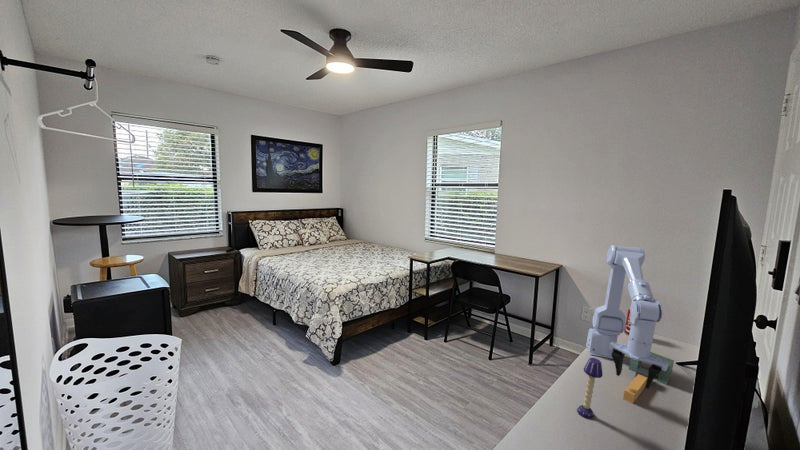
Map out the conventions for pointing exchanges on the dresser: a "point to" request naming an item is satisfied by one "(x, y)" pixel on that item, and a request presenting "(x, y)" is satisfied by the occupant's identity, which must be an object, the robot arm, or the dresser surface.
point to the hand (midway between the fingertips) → (632, 380)
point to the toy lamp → (590, 386)
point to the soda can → (628, 323)
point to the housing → (663, 375)
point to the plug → (636, 385)
